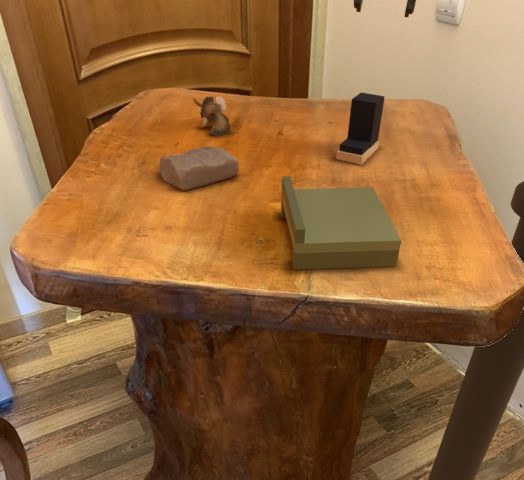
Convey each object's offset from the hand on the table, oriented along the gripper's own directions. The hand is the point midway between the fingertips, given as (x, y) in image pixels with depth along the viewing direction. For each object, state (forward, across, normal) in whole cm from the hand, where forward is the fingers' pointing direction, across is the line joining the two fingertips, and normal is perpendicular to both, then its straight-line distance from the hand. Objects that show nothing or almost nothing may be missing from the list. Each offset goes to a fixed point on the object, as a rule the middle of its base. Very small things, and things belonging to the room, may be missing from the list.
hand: (382, 12), depth 97 cm
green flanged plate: (+44, +2, -18) cm, 47 cm away
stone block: (+35, -25, -6) cm, 44 cm away
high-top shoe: (+23, 0, +7) cm, 24 cm away
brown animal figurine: (+20, -30, +11) cm, 38 cm away
